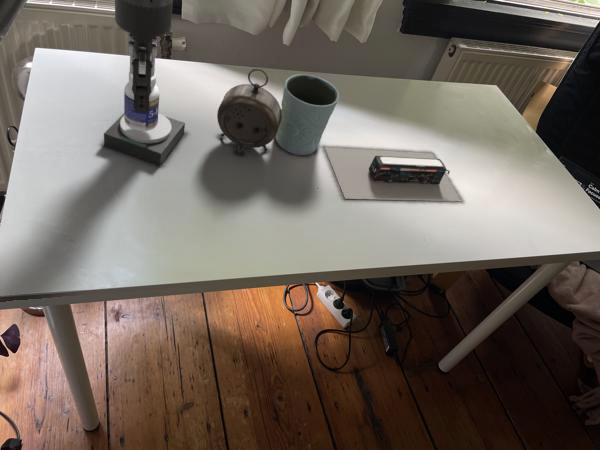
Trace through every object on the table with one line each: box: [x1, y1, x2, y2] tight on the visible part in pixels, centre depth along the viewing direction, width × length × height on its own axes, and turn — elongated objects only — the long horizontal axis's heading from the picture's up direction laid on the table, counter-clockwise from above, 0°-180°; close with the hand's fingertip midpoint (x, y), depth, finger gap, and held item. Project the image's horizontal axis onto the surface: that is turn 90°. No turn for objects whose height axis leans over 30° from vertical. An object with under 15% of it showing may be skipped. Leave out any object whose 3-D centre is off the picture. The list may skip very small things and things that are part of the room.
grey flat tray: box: [324, 147, 462, 202], centre depth 95 cm, size 14×25×4 cm, turn 103°
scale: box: [103, 112, 186, 165], centre depth 85 cm, size 10×10×3 cm
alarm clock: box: [216, 67, 282, 154], centre depth 85 cm, size 11×5×16 cm, turn 80°
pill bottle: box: [123, 68, 160, 131], centre depth 78 cm, size 5×5×9 cm
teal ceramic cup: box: [275, 73, 340, 156], centre depth 92 cm, size 10×10×12 cm
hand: (141, 99), depth 78 cm, fingers closed on pill bottle, 5 cm apart
